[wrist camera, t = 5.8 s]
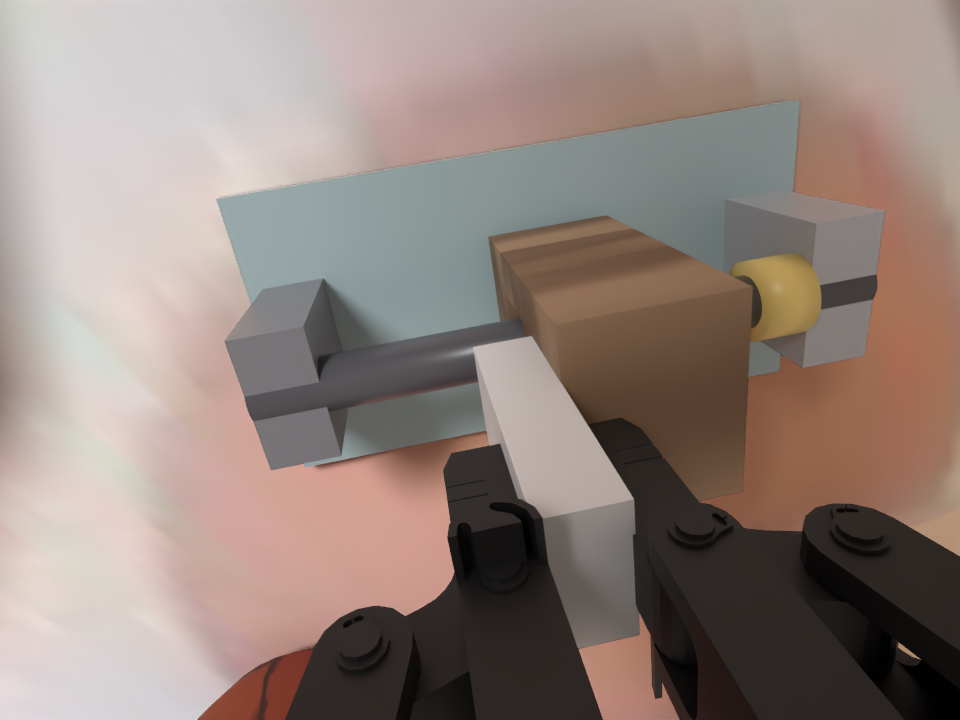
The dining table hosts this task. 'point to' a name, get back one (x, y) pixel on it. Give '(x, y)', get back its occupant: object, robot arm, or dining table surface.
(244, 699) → the potted plant
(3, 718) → the dining table surface
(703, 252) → the sliding rail mechanism
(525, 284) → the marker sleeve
